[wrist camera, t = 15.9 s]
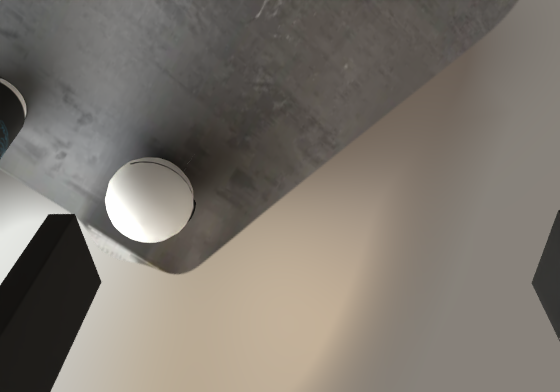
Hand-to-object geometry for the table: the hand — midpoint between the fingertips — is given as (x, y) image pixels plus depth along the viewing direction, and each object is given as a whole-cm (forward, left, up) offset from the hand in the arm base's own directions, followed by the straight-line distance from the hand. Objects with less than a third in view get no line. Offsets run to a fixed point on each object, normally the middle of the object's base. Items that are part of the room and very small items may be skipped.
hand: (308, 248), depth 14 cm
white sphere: (-9, +15, -28) cm, 33 cm away
